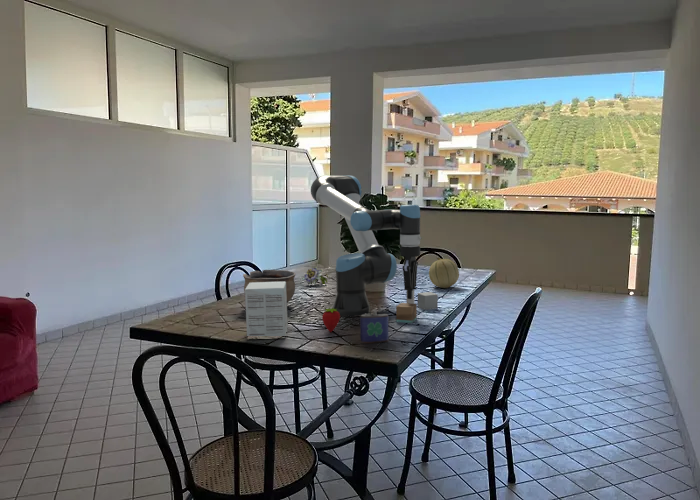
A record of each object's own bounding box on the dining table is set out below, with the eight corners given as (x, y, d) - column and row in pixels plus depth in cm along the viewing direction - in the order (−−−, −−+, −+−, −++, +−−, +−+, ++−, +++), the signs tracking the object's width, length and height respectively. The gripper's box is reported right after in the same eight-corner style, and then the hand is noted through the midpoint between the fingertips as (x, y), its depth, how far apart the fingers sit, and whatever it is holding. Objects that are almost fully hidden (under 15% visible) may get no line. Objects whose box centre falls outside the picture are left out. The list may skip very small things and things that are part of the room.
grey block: (424, 310, 208) (424, 295, 207) (417, 307, 214) (417, 293, 213) (437, 308, 210) (437, 294, 209) (430, 305, 216) (430, 291, 215)
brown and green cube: (411, 323, 188) (411, 307, 187) (396, 322, 190) (396, 306, 190) (416, 319, 193) (416, 304, 193) (401, 318, 196) (401, 302, 195)
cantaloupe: (459, 290, 246) (459, 260, 244) (428, 290, 248) (428, 259, 247) (458, 285, 260) (458, 256, 259) (429, 284, 263) (428, 256, 261)
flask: (388, 340, 167) (387, 307, 166) (389, 342, 164) (389, 310, 163) (360, 341, 166) (359, 309, 165) (361, 344, 164) (360, 311, 162)
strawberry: (344, 330, 180) (343, 302, 179) (334, 335, 173) (333, 307, 172) (329, 328, 183) (328, 301, 181) (318, 334, 176) (318, 305, 175)
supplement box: (251, 330, 183) (249, 282, 181) (288, 328, 184) (286, 280, 182) (246, 340, 170) (243, 289, 168) (286, 339, 171) (284, 287, 169)
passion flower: (310, 296, 267) (297, 278, 267) (320, 288, 277) (306, 271, 277) (325, 285, 262) (311, 267, 262) (334, 278, 271) (320, 260, 271)
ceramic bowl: (268, 300, 233) (266, 267, 231) (306, 305, 222) (305, 270, 220) (233, 310, 214) (232, 275, 213) (274, 316, 203) (272, 278, 201)
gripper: (415, 247, 186) (415, 311, 189) (424, 244, 198) (424, 303, 201) (395, 247, 189) (395, 309, 192) (405, 243, 201) (406, 302, 204)
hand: (410, 306), depth 196 cm, fingers closed
